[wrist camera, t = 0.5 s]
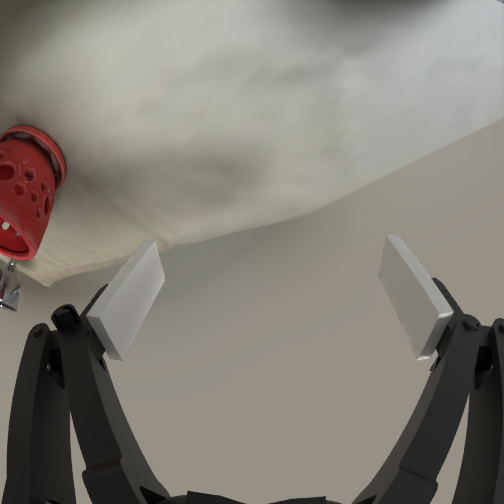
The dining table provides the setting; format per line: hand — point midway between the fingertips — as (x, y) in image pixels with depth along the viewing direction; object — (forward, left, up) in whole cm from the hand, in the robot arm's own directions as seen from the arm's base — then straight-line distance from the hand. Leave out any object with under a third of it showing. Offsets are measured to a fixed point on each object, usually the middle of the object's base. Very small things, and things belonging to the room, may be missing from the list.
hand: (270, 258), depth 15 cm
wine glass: (+13, -50, -16) cm, 54 cm away
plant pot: (-2, -29, -16) cm, 33 cm away
